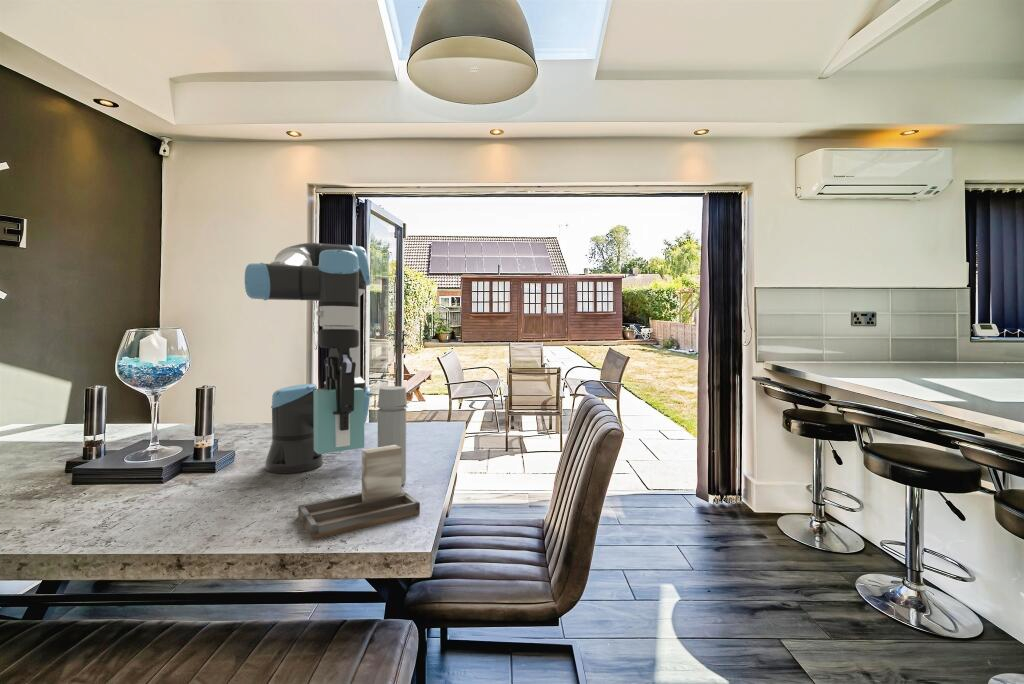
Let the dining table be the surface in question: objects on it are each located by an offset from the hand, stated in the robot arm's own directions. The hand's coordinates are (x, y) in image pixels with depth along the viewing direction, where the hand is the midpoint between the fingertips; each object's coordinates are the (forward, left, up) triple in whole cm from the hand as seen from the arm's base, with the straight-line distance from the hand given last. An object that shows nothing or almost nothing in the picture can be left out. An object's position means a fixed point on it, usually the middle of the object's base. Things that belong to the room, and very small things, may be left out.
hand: (339, 443), depth 95 cm
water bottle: (-19, +19, -17) cm, 32 cm away
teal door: (0, 0, -1) cm, 1 cm away
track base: (-3, +5, -17) cm, 18 cm away
